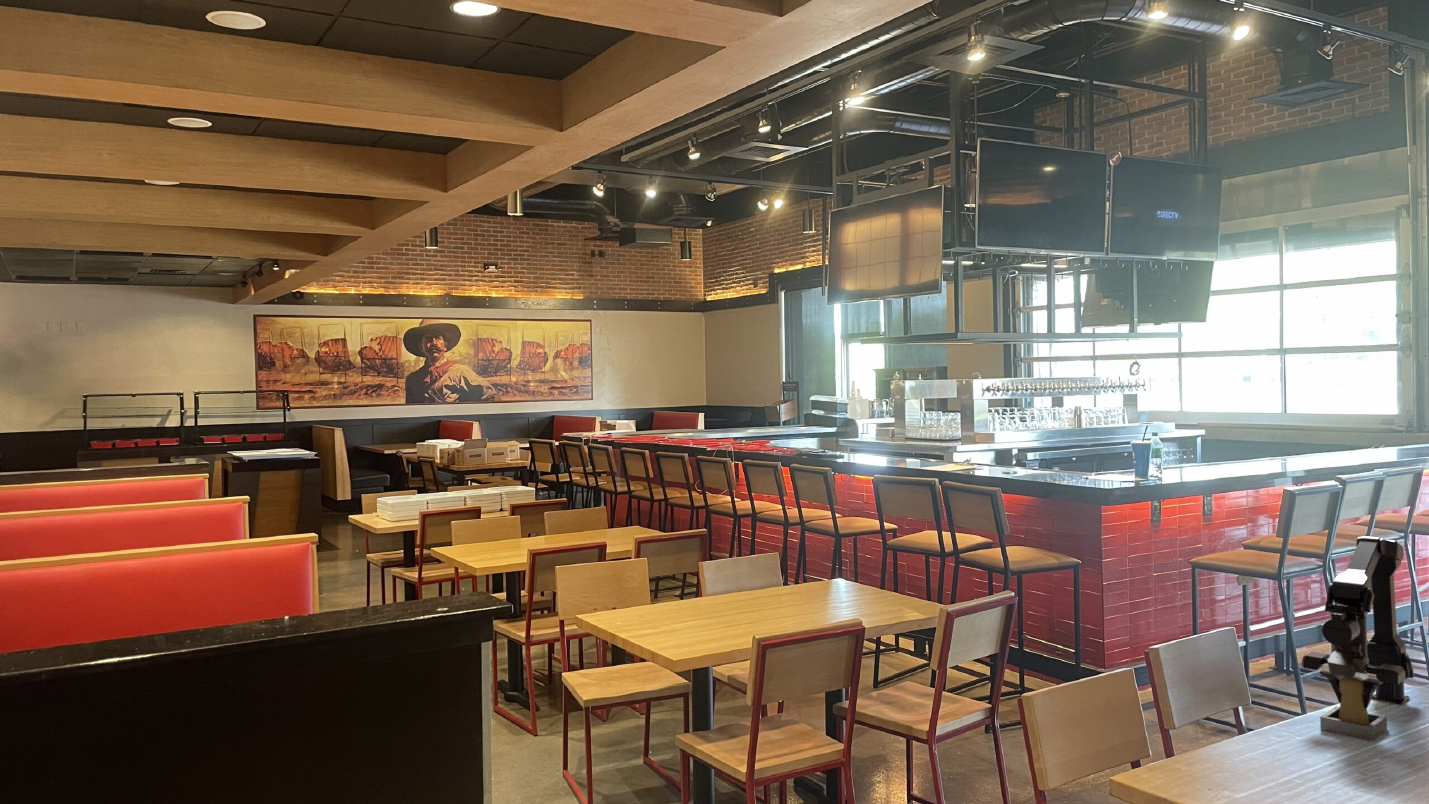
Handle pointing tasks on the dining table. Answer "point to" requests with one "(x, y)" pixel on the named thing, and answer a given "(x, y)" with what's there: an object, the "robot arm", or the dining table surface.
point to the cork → (1353, 700)
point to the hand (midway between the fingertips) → (1353, 705)
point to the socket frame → (1353, 725)
